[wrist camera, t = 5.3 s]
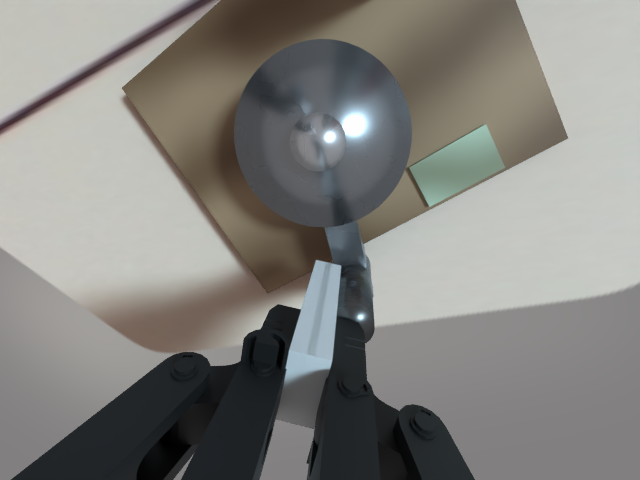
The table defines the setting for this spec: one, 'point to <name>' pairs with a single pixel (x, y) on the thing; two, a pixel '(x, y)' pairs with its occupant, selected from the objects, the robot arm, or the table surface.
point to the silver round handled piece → (326, 149)
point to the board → (405, 65)
